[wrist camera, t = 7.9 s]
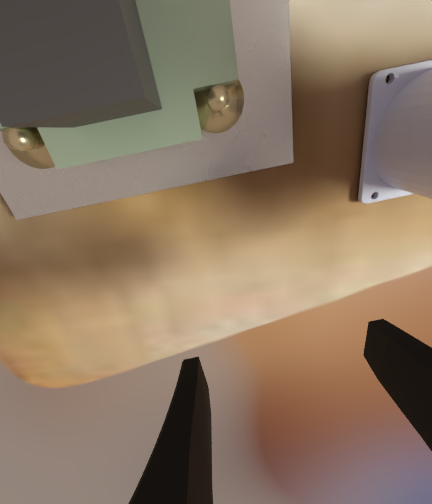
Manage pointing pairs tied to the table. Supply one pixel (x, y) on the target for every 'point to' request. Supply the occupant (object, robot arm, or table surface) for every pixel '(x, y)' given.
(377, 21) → the table surface
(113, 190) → the plate
